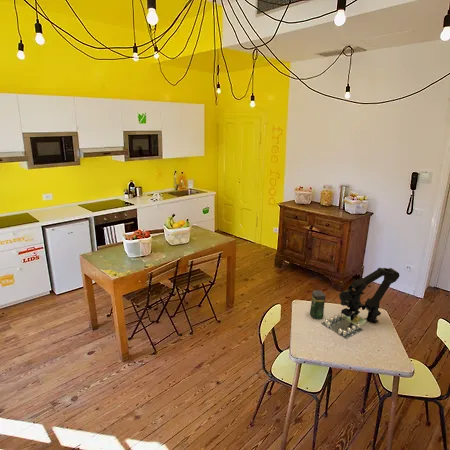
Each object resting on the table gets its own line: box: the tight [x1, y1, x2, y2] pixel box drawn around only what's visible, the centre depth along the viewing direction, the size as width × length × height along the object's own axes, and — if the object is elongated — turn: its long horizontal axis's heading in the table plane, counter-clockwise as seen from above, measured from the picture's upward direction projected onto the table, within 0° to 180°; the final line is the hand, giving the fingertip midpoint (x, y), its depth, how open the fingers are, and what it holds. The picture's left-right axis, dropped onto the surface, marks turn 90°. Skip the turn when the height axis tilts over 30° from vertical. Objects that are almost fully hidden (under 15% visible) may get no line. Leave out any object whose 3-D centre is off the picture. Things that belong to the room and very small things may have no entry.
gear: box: [353, 315, 361, 322], centre depth 229 cm, size 6×6×2 cm
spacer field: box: [320, 312, 364, 340], centre depth 221 cm, size 18×20×4 cm
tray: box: [342, 314, 368, 327], centre depth 229 cm, size 9×12×2 cm
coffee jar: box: [309, 289, 327, 320], centre depth 231 cm, size 10×8×19 cm
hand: (351, 320), depth 227 cm, fingers closed
